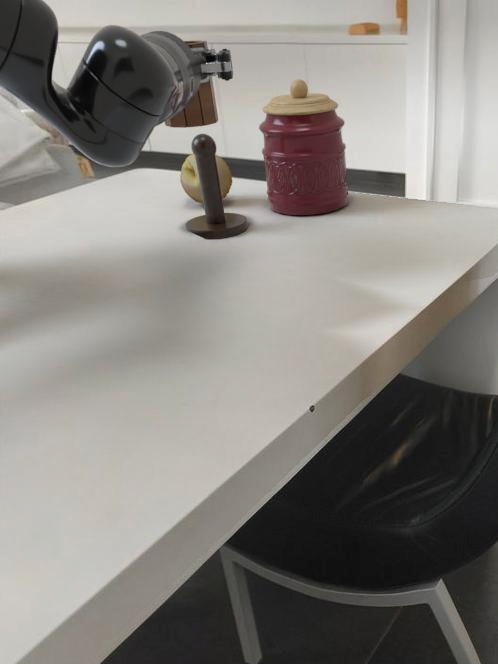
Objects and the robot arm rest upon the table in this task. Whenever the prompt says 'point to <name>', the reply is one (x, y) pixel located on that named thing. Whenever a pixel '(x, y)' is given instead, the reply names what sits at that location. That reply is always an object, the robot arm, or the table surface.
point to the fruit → (191, 178)
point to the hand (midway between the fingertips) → (185, 60)
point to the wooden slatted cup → (197, 102)
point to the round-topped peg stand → (212, 196)
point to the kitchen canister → (304, 153)
